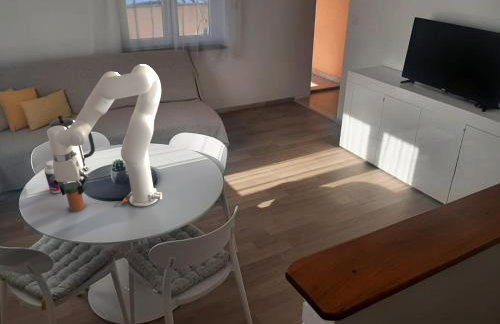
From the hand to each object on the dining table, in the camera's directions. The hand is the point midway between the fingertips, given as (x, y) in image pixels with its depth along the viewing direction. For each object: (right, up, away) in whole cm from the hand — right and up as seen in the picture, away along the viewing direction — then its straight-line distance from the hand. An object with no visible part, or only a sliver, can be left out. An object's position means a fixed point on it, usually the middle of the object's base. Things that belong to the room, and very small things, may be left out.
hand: (73, 192), depth 175 cm
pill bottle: (-14, 0, +18) cm, 23 cm away
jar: (0, -7, +3) cm, 7 cm away
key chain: (+21, -4, +9) cm, 23 cm away
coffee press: (-14, +9, +36) cm, 40 cm away
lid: (0, +3, -1) cm, 3 cm away
